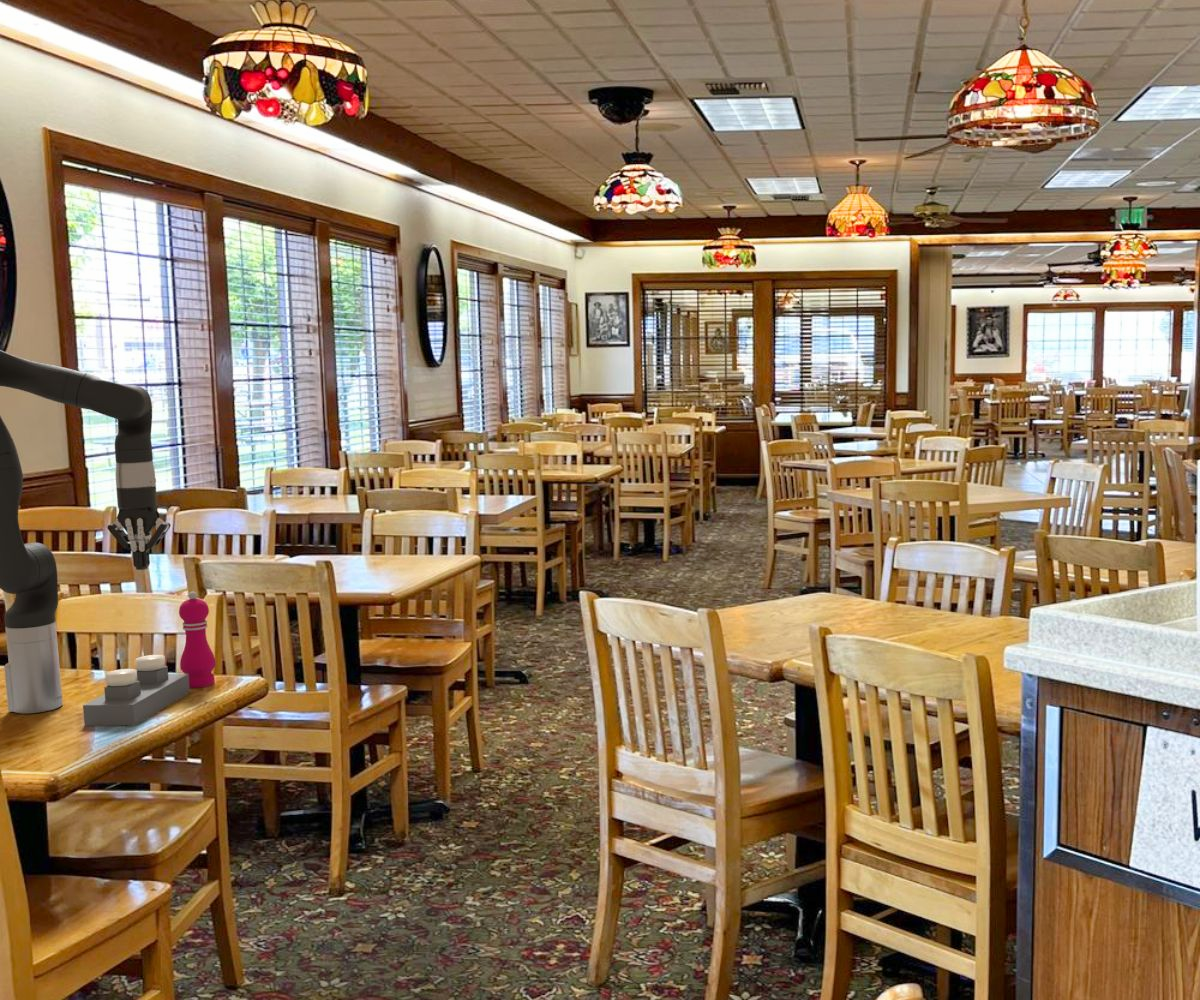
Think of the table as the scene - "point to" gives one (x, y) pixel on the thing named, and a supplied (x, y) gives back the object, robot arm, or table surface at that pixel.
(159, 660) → the knob
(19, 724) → the table surface
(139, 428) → the robot arm
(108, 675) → the knob
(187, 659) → the pepper mill
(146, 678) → the mount bar
